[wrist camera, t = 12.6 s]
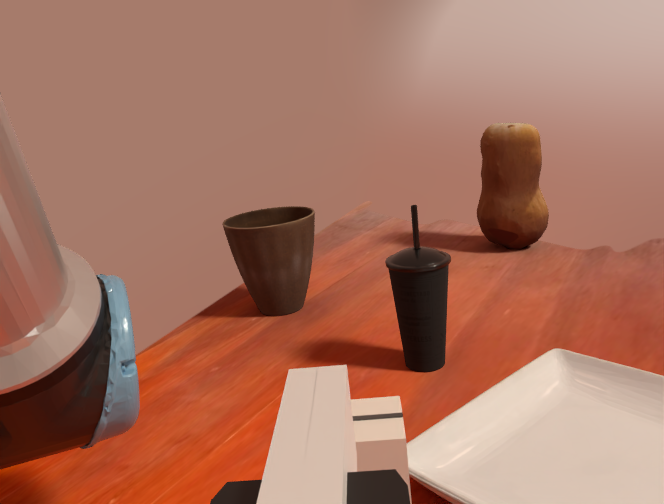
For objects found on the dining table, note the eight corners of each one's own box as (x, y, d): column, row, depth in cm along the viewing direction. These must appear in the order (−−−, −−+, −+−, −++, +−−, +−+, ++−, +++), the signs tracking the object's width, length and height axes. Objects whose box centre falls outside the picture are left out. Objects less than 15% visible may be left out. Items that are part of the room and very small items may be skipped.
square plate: (387, 492, 48) (383, 453, 47) (555, 373, 64) (555, 342, 63) (775, 747, 27) (782, 686, 26) (880, 477, 43) (887, 433, 42)
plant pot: (331, 317, 88) (319, 218, 84) (236, 331, 86) (219, 232, 82) (320, 288, 102) (309, 202, 98) (239, 300, 101) (224, 214, 97)
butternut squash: (552, 237, 117) (551, 116, 111) (544, 256, 106) (542, 121, 99) (485, 237, 123) (480, 122, 117) (471, 254, 112) (464, 128, 106)
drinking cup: (406, 383, 65) (392, 216, 60) (386, 356, 72) (373, 205, 67) (467, 370, 66) (458, 205, 61) (442, 345, 74) (432, 196, 68)
